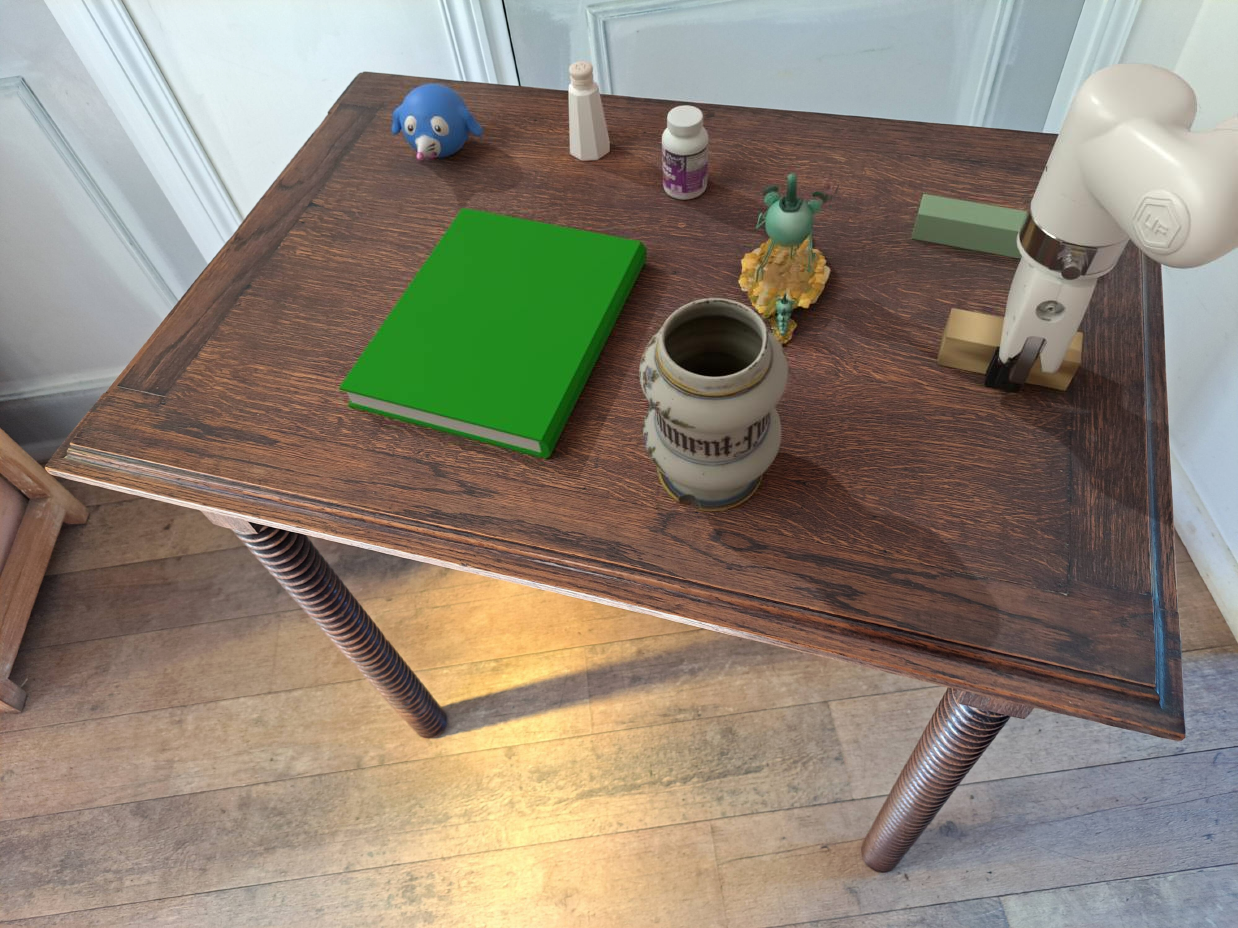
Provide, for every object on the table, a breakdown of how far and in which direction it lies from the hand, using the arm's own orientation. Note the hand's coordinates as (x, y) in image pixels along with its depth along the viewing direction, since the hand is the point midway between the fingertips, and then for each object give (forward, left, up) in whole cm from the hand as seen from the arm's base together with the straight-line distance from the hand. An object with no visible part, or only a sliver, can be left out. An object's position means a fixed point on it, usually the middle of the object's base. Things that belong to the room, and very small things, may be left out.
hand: (1001, 383), depth 81 cm
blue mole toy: (+71, -18, -2) cm, 73 cm away
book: (+50, +7, -2) cm, 50 cm away
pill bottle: (+39, -21, -2) cm, 44 cm away
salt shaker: (+53, -25, -2) cm, 58 cm away
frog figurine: (+24, -8, -2) cm, 25 cm away
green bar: (+4, -21, -1) cm, 22 cm away
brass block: (0, -4, -1) cm, 4 cm away
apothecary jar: (+24, +17, -2) cm, 29 cm away
